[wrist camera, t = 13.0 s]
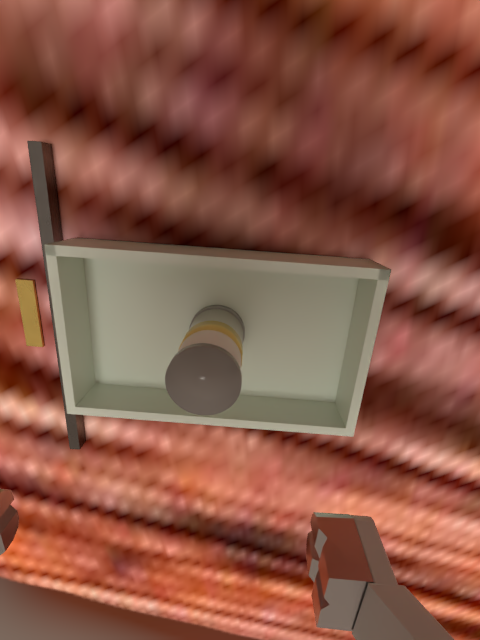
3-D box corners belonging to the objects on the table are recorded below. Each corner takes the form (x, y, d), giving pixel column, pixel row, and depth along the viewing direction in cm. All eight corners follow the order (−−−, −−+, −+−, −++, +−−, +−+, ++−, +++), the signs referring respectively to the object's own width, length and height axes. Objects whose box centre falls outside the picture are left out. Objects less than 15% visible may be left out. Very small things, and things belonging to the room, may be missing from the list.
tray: (77, 237, 22) (44, 244, 18) (369, 259, 21) (391, 269, 18) (92, 385, 25) (67, 413, 22) (339, 404, 25) (353, 436, 22)
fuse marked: (190, 302, 22) (164, 345, 16) (246, 306, 22) (244, 351, 15) (190, 353, 23) (165, 412, 17) (242, 357, 23) (238, 418, 17)
